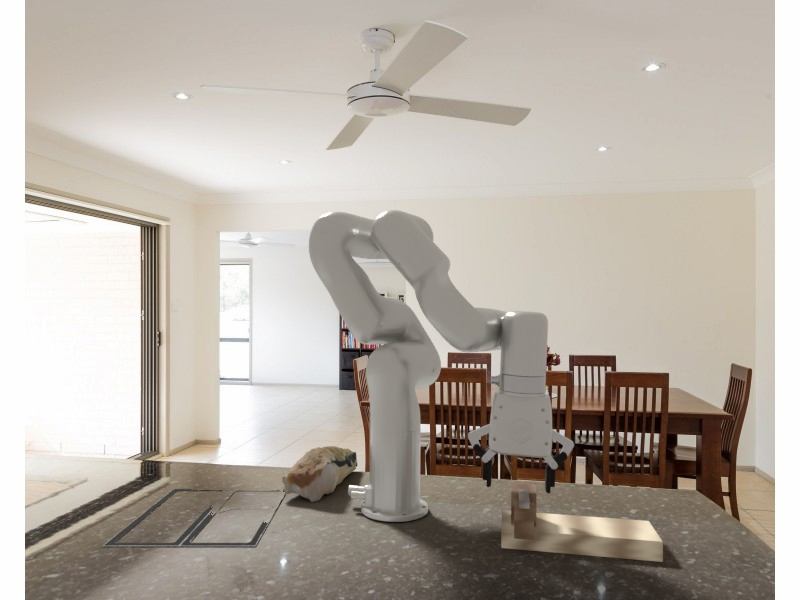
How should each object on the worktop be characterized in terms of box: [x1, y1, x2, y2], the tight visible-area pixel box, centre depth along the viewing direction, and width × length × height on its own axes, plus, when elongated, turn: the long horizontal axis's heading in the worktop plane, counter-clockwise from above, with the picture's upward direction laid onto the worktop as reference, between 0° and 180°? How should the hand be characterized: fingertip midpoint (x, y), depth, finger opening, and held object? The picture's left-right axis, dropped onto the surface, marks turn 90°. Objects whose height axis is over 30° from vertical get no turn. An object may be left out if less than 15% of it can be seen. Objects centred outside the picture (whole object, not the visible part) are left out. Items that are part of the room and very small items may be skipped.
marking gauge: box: [510, 482, 537, 540], centre depth 92 cm, size 4×9×6 cm, turn 169°
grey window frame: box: [101, 488, 270, 548], centre depth 105 cm, size 24×1×30 cm
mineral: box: [281, 445, 358, 503], centre depth 124 cm, size 26×9×10 cm
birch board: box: [500, 509, 664, 563], centre depth 93 cm, size 24×9×3 cm, turn 79°
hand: (517, 487), depth 95 cm, fingers open, 9 cm apart
